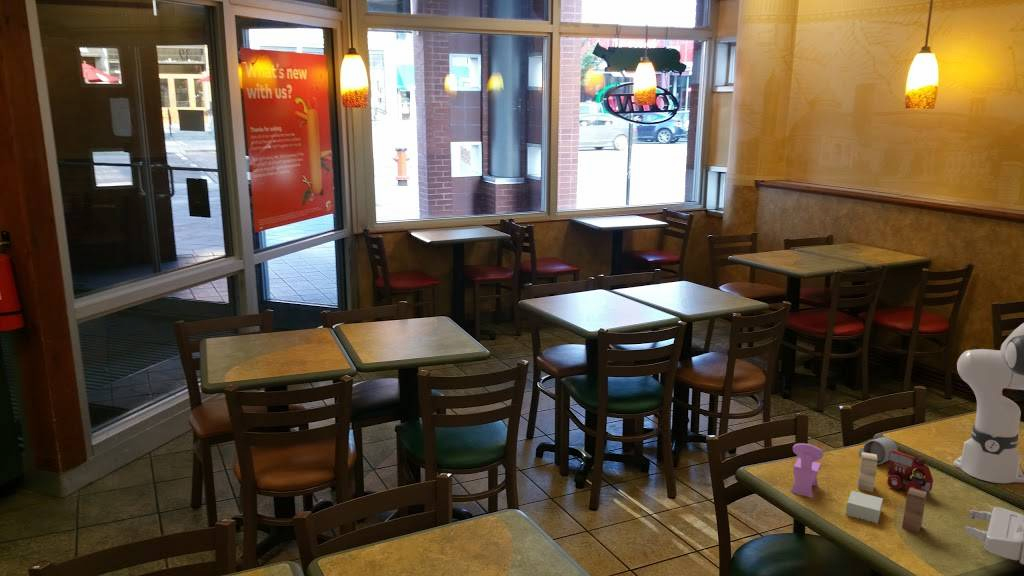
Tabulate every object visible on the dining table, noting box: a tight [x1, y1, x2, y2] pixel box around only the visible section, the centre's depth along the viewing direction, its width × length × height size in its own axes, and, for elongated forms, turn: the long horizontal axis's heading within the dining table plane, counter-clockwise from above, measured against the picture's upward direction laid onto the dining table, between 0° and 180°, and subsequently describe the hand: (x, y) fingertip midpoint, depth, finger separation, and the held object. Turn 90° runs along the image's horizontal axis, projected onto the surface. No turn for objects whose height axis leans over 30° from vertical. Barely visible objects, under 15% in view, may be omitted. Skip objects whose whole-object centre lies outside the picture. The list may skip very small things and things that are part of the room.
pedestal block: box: [845, 490, 884, 524], centre depth 211 cm, size 8×8×4 cm
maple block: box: [857, 452, 878, 493], centre depth 225 cm, size 4×4×10 cm
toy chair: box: [789, 442, 824, 499], centre depth 223 cm, size 8×9×15 cm
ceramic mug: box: [857, 436, 899, 466], centre depth 244 cm, size 11×8×8 cm
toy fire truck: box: [886, 450, 934, 494], centre depth 225 cm, size 7×12×10 cm, turn 44°
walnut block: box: [901, 488, 928, 533], centre depth 204 cm, size 4×4×10 cm
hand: (967, 520), depth 196 cm, fingers open, 8 cm apart
